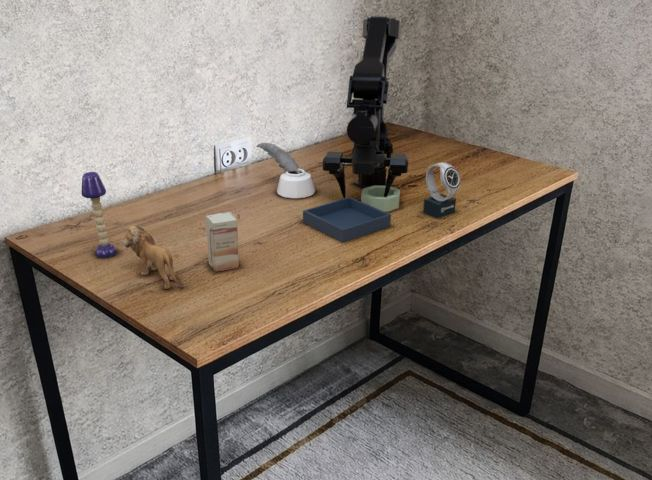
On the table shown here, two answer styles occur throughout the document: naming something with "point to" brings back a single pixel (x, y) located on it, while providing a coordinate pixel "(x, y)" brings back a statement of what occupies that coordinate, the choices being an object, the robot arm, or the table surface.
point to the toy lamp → (97, 211)
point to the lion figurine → (150, 253)
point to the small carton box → (222, 241)
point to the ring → (381, 198)
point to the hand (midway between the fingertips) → (364, 198)
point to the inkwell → (290, 174)
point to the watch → (440, 202)
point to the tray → (346, 219)
